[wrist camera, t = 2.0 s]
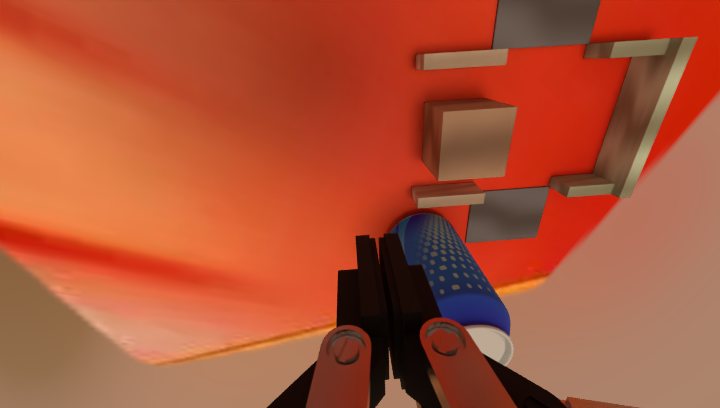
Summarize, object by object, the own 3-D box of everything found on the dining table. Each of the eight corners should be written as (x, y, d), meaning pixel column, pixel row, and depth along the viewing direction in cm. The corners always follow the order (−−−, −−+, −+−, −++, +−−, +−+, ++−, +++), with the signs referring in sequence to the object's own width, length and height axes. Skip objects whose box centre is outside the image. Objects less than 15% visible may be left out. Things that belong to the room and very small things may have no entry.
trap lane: (418, -44, 23) (433, -64, 19) (685, -59, 23) (747, -80, 20) (410, 246, 36) (417, 267, 32) (581, 232, 36) (607, 251, 33)
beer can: (374, 254, 36) (394, 382, 22) (401, 198, 33) (447, 306, 18) (432, 271, 38) (486, 399, 24) (464, 219, 34) (550, 332, 20)
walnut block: (424, 101, 28) (443, 111, 23) (484, 97, 28) (517, 106, 23) (421, 160, 31) (438, 181, 25) (476, 156, 31) (504, 176, 26)
